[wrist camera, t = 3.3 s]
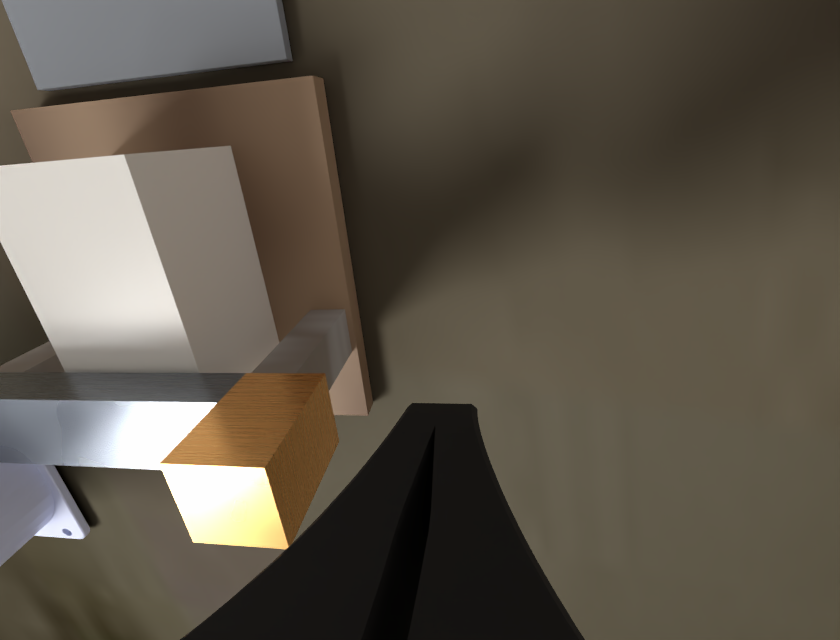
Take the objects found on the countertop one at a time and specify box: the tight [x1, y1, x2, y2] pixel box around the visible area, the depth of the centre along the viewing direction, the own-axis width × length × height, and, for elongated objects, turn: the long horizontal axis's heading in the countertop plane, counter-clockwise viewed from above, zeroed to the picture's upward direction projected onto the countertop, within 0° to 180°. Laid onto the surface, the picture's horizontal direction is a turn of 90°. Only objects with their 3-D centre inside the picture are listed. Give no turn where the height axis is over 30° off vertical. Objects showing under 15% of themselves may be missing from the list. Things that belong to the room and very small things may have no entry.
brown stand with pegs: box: [0, 75, 373, 416], centre depth 13 cm, size 10×11×5 cm
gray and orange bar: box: [0, 372, 339, 549], centre depth 10 cm, size 10×2×3 cm, turn 95°
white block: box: [0, 146, 279, 373], centre depth 12 cm, size 4×8×4 cm, turn 5°
